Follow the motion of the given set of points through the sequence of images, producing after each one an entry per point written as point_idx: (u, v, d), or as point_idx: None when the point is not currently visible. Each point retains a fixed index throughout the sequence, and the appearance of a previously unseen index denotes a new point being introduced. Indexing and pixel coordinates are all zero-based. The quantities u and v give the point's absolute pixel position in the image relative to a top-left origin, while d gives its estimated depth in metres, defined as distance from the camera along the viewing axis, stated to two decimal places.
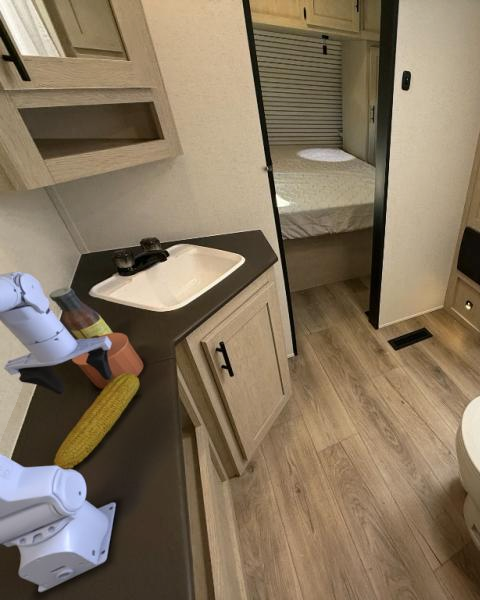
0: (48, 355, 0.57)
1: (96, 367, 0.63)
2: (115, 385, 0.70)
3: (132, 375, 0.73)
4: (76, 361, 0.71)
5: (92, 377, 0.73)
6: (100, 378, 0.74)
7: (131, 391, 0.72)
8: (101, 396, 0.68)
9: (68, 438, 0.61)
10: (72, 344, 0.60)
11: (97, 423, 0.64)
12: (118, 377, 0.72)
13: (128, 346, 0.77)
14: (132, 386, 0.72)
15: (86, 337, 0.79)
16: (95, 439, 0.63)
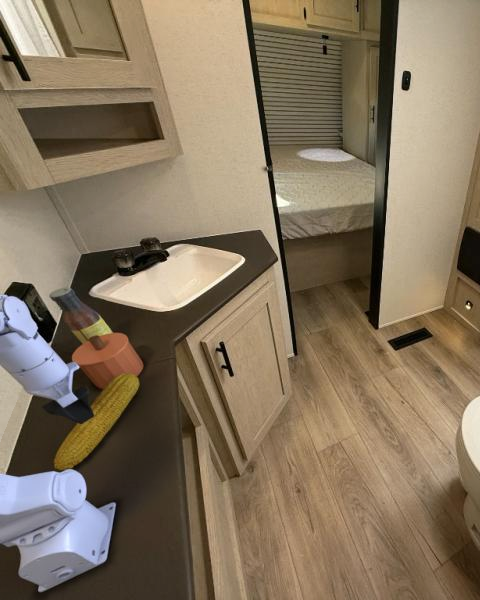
0: None
1: None
2: (115, 385, 0.70)
3: (132, 375, 0.73)
4: (76, 361, 0.71)
5: (92, 377, 0.73)
6: (100, 378, 0.74)
7: (131, 391, 0.72)
8: (101, 396, 0.68)
9: (68, 438, 0.61)
10: (44, 383, 0.53)
11: (97, 423, 0.64)
12: (118, 377, 0.72)
13: (128, 346, 0.77)
14: (132, 386, 0.72)
15: (86, 337, 0.79)
16: (95, 439, 0.63)
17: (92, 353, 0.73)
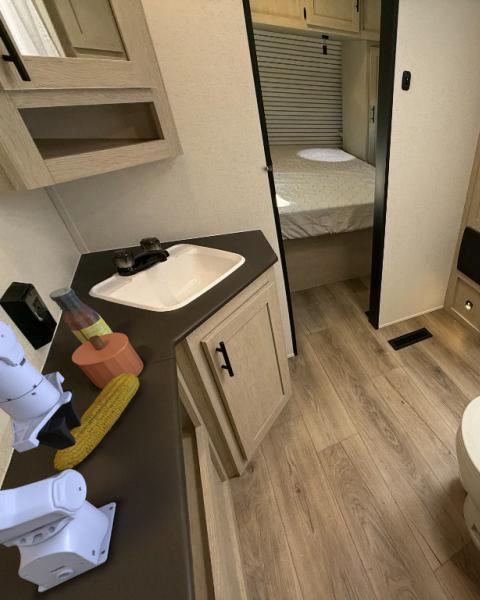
0: None
1: None
2: (115, 385, 0.70)
3: (132, 375, 0.73)
4: (76, 361, 0.71)
5: (92, 377, 0.73)
6: (100, 378, 0.74)
7: (131, 391, 0.72)
8: (101, 396, 0.68)
9: None
10: (20, 415, 0.48)
11: (97, 423, 0.64)
12: (118, 377, 0.72)
13: (128, 346, 0.77)
14: (131, 386, 0.72)
15: (86, 337, 0.79)
16: (95, 439, 0.63)
17: (92, 353, 0.73)
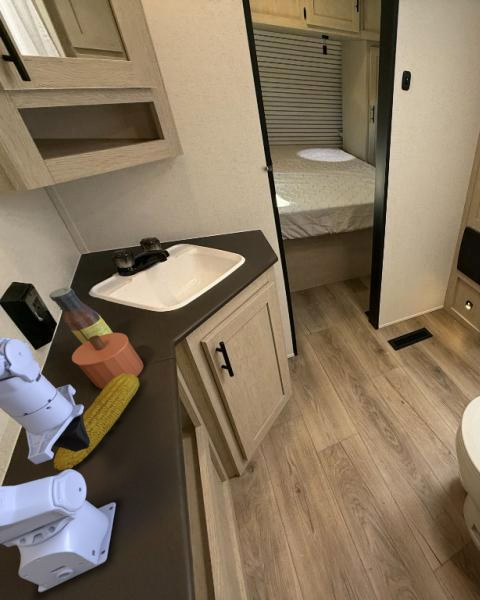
0: None
1: None
2: (115, 385, 0.70)
3: (132, 375, 0.73)
4: (76, 361, 0.71)
5: (92, 377, 0.73)
6: (100, 378, 0.74)
7: (131, 391, 0.72)
8: (101, 396, 0.68)
9: None
10: (35, 428, 0.50)
11: (97, 423, 0.64)
12: (118, 377, 0.72)
13: (128, 346, 0.77)
14: (131, 386, 0.72)
15: (86, 337, 0.79)
16: (95, 439, 0.63)
17: (92, 353, 0.73)
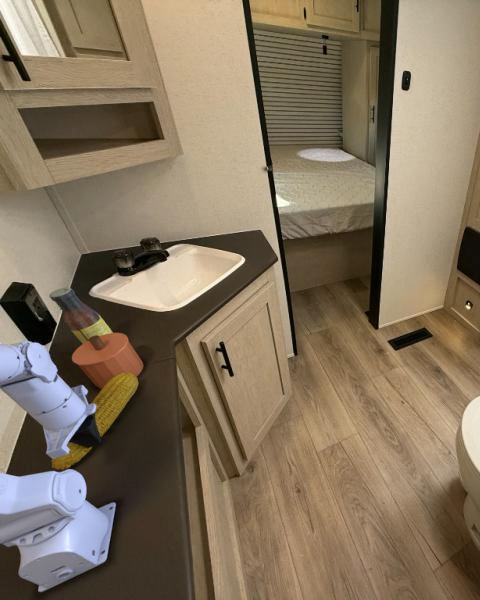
0: None
1: None
2: (114, 385, 0.70)
3: (131, 375, 0.74)
4: (76, 361, 0.71)
5: (92, 377, 0.73)
6: (100, 378, 0.74)
7: (130, 391, 0.72)
8: (100, 395, 0.68)
9: None
10: (52, 426, 0.54)
11: None
12: (117, 377, 0.72)
13: (128, 346, 0.77)
14: (130, 386, 0.72)
15: (86, 337, 0.79)
16: None
17: (92, 353, 0.73)
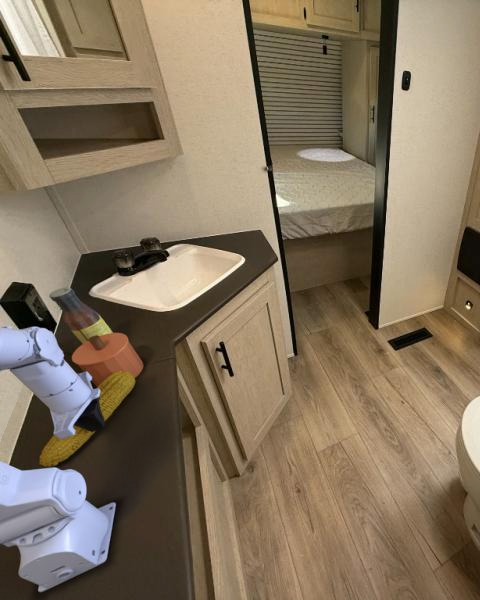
0: None
1: None
2: (109, 383, 0.70)
3: (128, 373, 0.74)
4: (76, 361, 0.71)
5: (92, 377, 0.73)
6: (100, 378, 0.74)
7: (125, 390, 0.72)
8: None
9: None
10: (59, 408, 0.56)
11: None
12: (114, 375, 0.72)
13: (128, 346, 0.77)
14: (126, 385, 0.72)
15: (86, 337, 0.79)
16: (82, 437, 0.63)
17: (92, 353, 0.73)
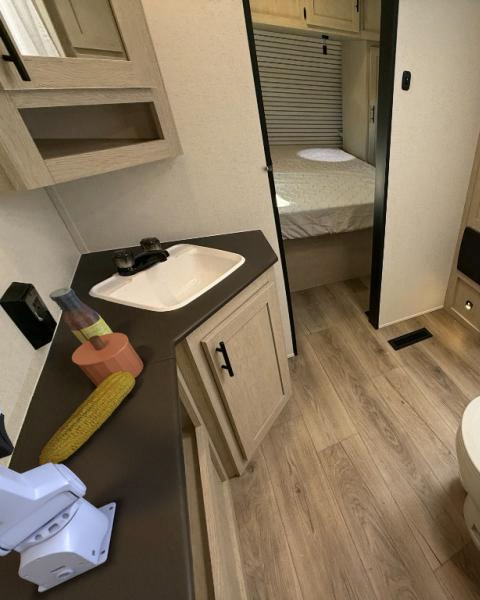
0: None
1: None
2: (109, 383, 0.70)
3: (128, 373, 0.74)
4: (76, 361, 0.71)
5: (92, 377, 0.73)
6: (100, 378, 0.74)
7: (124, 390, 0.72)
8: (94, 393, 0.68)
9: (55, 434, 0.61)
10: None
11: (86, 421, 0.64)
12: (113, 375, 0.72)
13: (128, 346, 0.77)
14: (126, 385, 0.72)
15: (86, 337, 0.79)
16: (82, 437, 0.63)
17: (92, 353, 0.73)
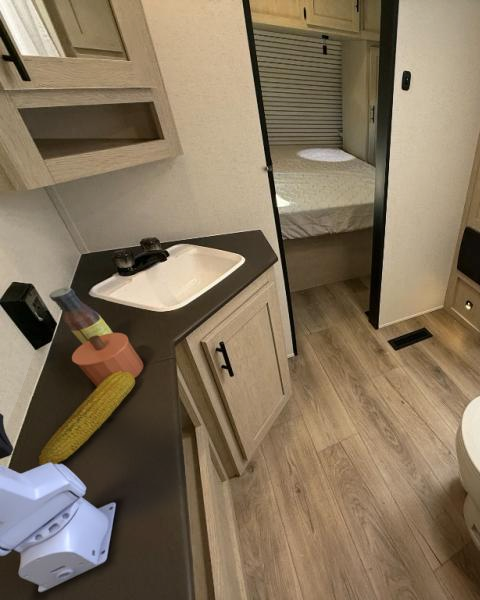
0: None
1: None
2: (109, 383, 0.70)
3: (127, 373, 0.74)
4: (76, 361, 0.71)
5: (92, 377, 0.73)
6: (100, 378, 0.74)
7: (124, 390, 0.72)
8: (94, 393, 0.68)
9: (55, 434, 0.61)
10: None
11: (85, 421, 0.64)
12: (113, 375, 0.72)
13: (128, 346, 0.77)
14: (126, 385, 0.72)
15: (86, 337, 0.79)
16: (82, 437, 0.63)
17: (92, 353, 0.73)
